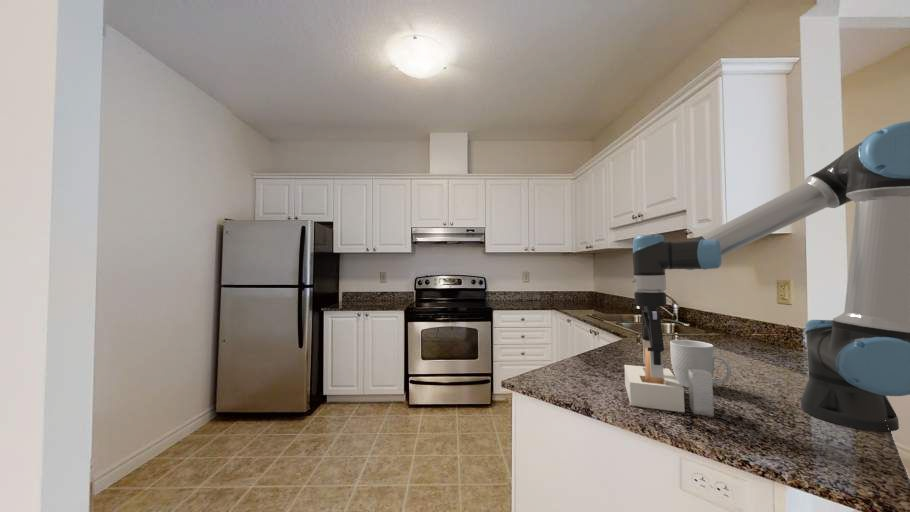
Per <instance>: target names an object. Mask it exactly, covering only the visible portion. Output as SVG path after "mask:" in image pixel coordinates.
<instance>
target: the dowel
mask: <svg viewBox="0 0 910 512" xmlns="http://www.w3.org/2000/svg"><path fill="white" fill-rule="evenodd" d="M644 364H645V366H644V367H645V382H647V383H656V384H663V378H657V377H651V369H650V351H648V348H646V349H645V363H644Z"/></svg>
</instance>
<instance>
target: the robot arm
mask: <svg viewBox="0 0 910 512" xmlns="http://www.w3.org/2000/svg"><path fill="white" fill-rule="evenodd" d="M852 201H853V202H854V203H855V209H854V217H853V228H852V236H851V237H852V238H851V246H850V257H849V266H848V275H847V285H846V292H845V293H846V294H845V303H844V312H843V313H842V314H840V315H838V316H836V317H834V318H832V319H810V320H808V321H807V322H806V324H805V325H806V326H805V331H804V333H805V336H806V351H807V364H808V367H807V368H808V381H807V383H806V385H805V387H804V391H803V393H802V394H801V398H800V408H801V410H802V411H803V412H805V413H806V414H809V415H811V416H813V417H815V418H818V419H820V420H823V421H827V422H828V423H829V422H830V423H832V424H833V423H834V424H838V425H841V426H845V427H850V428H855V429H859V430H860V429H861V430H868V431H876V432H895V431H898V430H899V429H900V424H899V418H898V416H897V414H896V412H895V410H894V407H893V406H892V404H891V402H890V401H889V399H888V397H901V396H902V397H904V396H910V120H909V121H908V120H907V121H902V122H898V123H897V122H896V123H894V124H893V123H892V124H891V125H888V126H885V127H883V128H881V129H879V130H876V131H874V132H872V133H870V134H869V135H867V136H866V137H865V138H864V139H863V140H862V141H860V142H859V143H857V144H855V145H854V146H853V147H852V148H851V147H850V149H848V150H846V151H845V152H843V154H841V155H840V156H839V157H836V159H835V160H833V161H832V162H831V163H829V164H828V165H826V166H825V167H822V169H820V170H818V171H817V172H815V173H813V174H811V175H808V176H807V177H806V178H805V180H804V183H802V184H800V185H797V186H796V187H794V188H793V189H790V190H788V191H786V192H784V193H783V194H780V195H779V196H776V197H775V198H773V199H771V200H768V201H767V202H765V203H763V204H761V205H759V206H757V207H755V208H753V209H750V210H749V211H747V212H745V213H743V214H741V215H739V216H737V217H736V218H733V219H732V220H730V221H728V222H726V223H724V224H722V225H720V226H718V227H715V228H714V229H712V230H710V231H707V232H706V233H704V234H702V235H700V236H699V237H696V238H694V239H692V240H677V241H670V240H669V241H665V237H664V235H662V234H657V233H656V234H642V235H641V234H640V235H636V236H635V237H634V238H633V239H632V240H633V241H632V262H633V263H632V265H633V266H632V267H633V278H632V279H631V283H634V284H633V285H634V286H633V287H634V290H636V291H635V292H634V305H636V306H638V307H641V338H642V352H643V353H642V355H643V356H642V357H643V358H642V359H643V360H642V361H643V364H645V349H646V348H648V351H650V369H651V377H657V378H664V375H663V368H664V356H663V355H664V353H663V352H665V346H664V338H663V330H662V322H661V321H662V320H661V315H662V314H661V311H658V309H657V308H658V307H661V308H662V307H665V306H667V293H666V292H664V291H666V290H667V280H666V270H688V271H691V270H692V271H693V270H704V271H705V270H712V269H714V270H715V269H716V270H717V269H719V268H720V267H721V265H722V260H723V259H722V257H723V256H725V255H727V254H730V253H732V252H734V251H736V250H738V249H740V248H742V247H744V246H747V245H749V244H751V243H753V242H755V241H758V240H760V239H762V238H765V237H766V236H768V235H771V234H773V233H774V232H777V231H779V230H781V229H783V228H785V227H787V226H789V225H792V224H795V223H796V222H799V221H800V220H803V219H804V218H806V217H809V216H811V215H814V214H815V213H818V212H820V211H822V210H824V209H826V208H829V209H836V208H839V207H840V206H843V205H845V204H847V203H850V202H852ZM885 420H886V421H885ZM887 425H888V426H887ZM888 428H889V430H890V431H889V430H888Z"/></svg>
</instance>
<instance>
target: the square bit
mask: <svg viewBox="0 0 910 512" xmlns="http://www.w3.org/2000/svg"><path fill="white" fill-rule="evenodd" d="M688 374H689V388H688V393H689V408H690V410H691V411H692V413H693V414H694V415H699V414H700V415H701V416H707V415H711V416H710V417H715V413H714V412H715V411H714V390H713V383H712V379H713V377H712V374H711V373H709V372H708V371H707V370H698V369H688Z"/></svg>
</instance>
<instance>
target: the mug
mask: <svg viewBox="0 0 910 512" xmlns="http://www.w3.org/2000/svg"><path fill="white" fill-rule="evenodd" d="M669 344H670V347H669V348H670V349H669V350H670V353H669V354H670V363H671V368H672V370H673V372H672V373H673V375H674V376H675V377H676V379H677V380H678V381H679V383H680V384H681V385H682V387H683V388H688V389H689V374H688V369H698V370H707V371H708V372H709V373H711V374H712V385H713V384H715V385H716V384H725V383H726V382H728V381H729V380H730V378H731V377H732V368H731V366H732V365H730V363H729V361H728V360H727V359H726V358H725V357H723V356H721V355H718V354H715V349H714V348H715V347H714V345H713V344H712V343H708V342H704V341H700V340H699V341H698V340H689V339H688V340H687V339H673V340H670V341H669ZM715 360H720V361H722V363H724V365H725V367H726V371H727V372H726V376H724V378H722V379H718V380H716V379H713V377H714V373H715Z"/></svg>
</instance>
